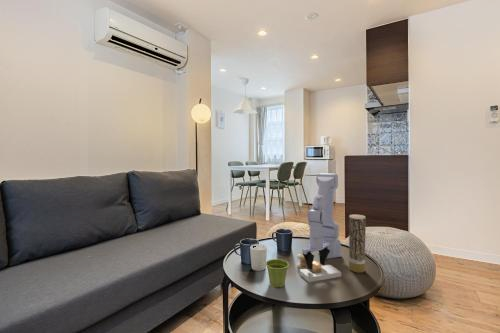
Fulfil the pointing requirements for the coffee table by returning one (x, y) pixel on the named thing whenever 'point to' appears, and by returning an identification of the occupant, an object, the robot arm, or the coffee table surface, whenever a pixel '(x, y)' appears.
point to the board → (325, 273)
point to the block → (316, 267)
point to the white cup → (258, 257)
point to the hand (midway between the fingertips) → (316, 266)
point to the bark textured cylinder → (357, 243)
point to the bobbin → (302, 262)
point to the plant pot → (277, 272)
